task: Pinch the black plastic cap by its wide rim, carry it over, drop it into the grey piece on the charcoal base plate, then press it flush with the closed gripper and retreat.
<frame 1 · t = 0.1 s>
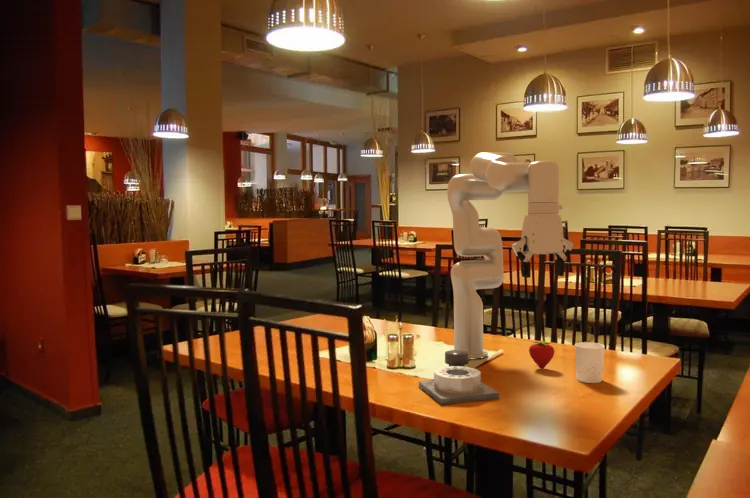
hand: (542, 276, 153), 31 cm above the table, fingers open, 9 cm apart
strawberry: (541, 369, 181), on the table
white cup: (589, 380, 168), on the table
grey piece: (457, 392, 158), on the table
cap: (456, 376, 173), on the table
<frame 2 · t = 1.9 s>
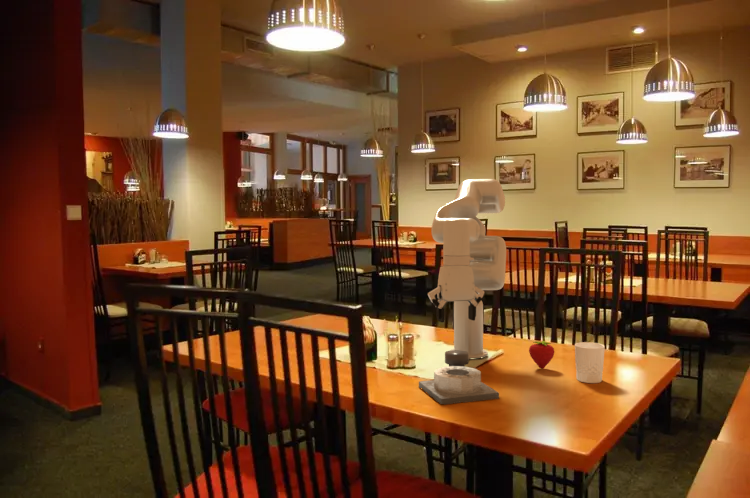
hand: (456, 320, 172), 17 cm above the table, fingers open, 9 cm apart
nothing on the table moved.
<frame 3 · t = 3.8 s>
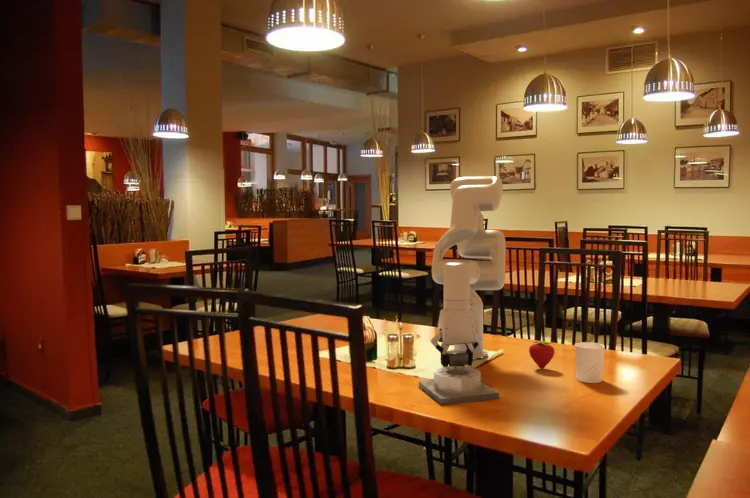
hand: (456, 365, 173), 3 cm above the table, fingers closed on cap, 6 cm apart
cap: (456, 376, 173), on the table, touching gripper
everything else where it was.
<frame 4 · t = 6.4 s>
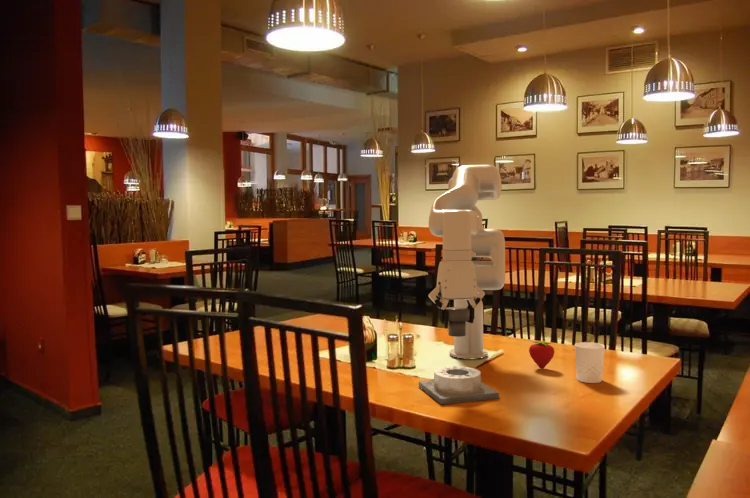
hand: (457, 322, 159), 18 cm above the table, fingers closed on cap, 6 cm apart
cap: (457, 334, 159), point 15 cm above the table, touching gripper
everything else where it was.
when the fingers open (7 cm above the table, at t = 9.1 s): cap drops 2 cm, resting on grey piece.
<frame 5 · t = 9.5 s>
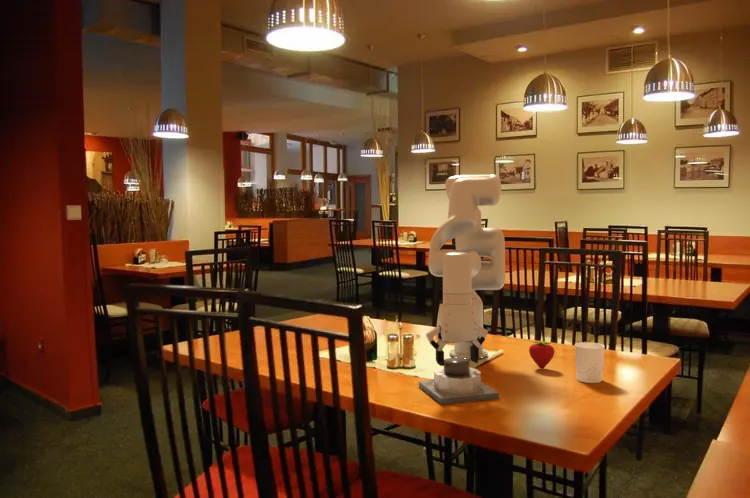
hand: (457, 363, 158), 8 cm above the table, fingers open, 9 cm apart
cap: (456, 386, 158), point 2 cm above the table, touching grey piece
everything else where it was.
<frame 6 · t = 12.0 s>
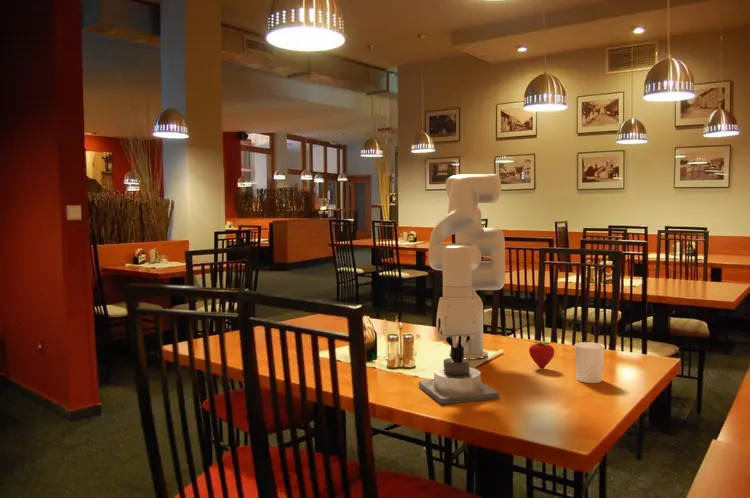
hand: (457, 361, 158), 9 cm above the table, fingers closed
cap: (456, 386, 158), point 2 cm above the table, touching grey piece, gripper
everything else where it was.
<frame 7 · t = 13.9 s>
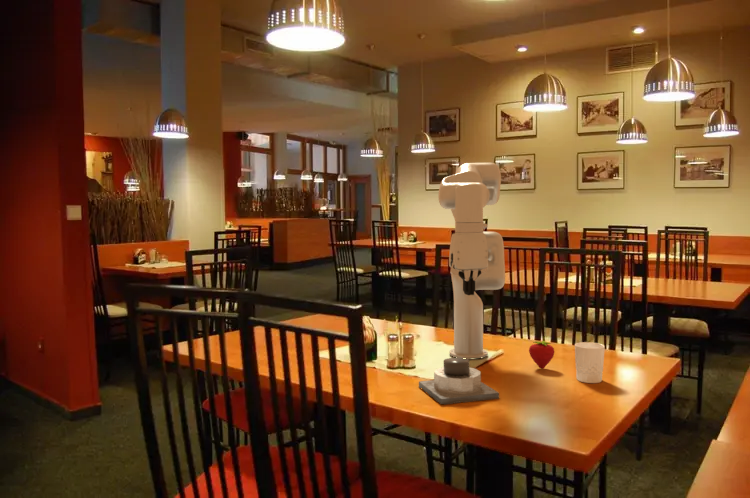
hand: (469, 294, 165), 25 cm above the table, fingers closed
cap: (456, 386, 158), point 2 cm above the table, touching grey piece
everything else where it was.
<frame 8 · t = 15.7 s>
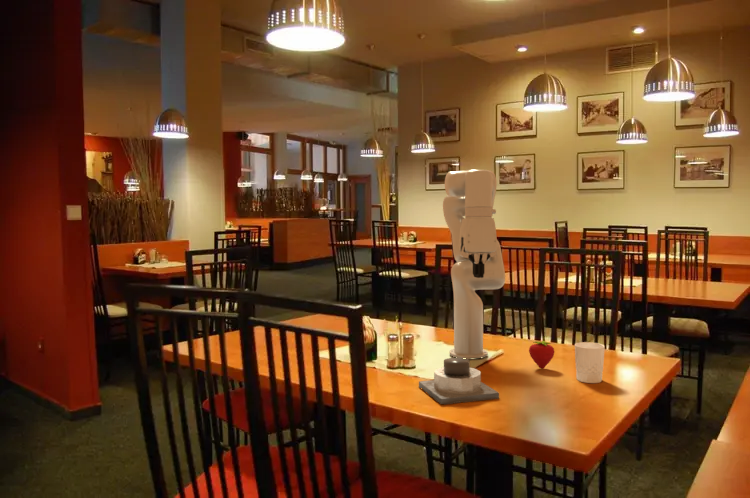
hand: (478, 277, 171), 29 cm above the table, fingers closed
nothing on the table moved.
at the end: cap 0.2 cm off-centre on the grey piece, point 1.5 cm above the grey piece's base; cap tilted 0°; the gripper is holding nothing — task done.
